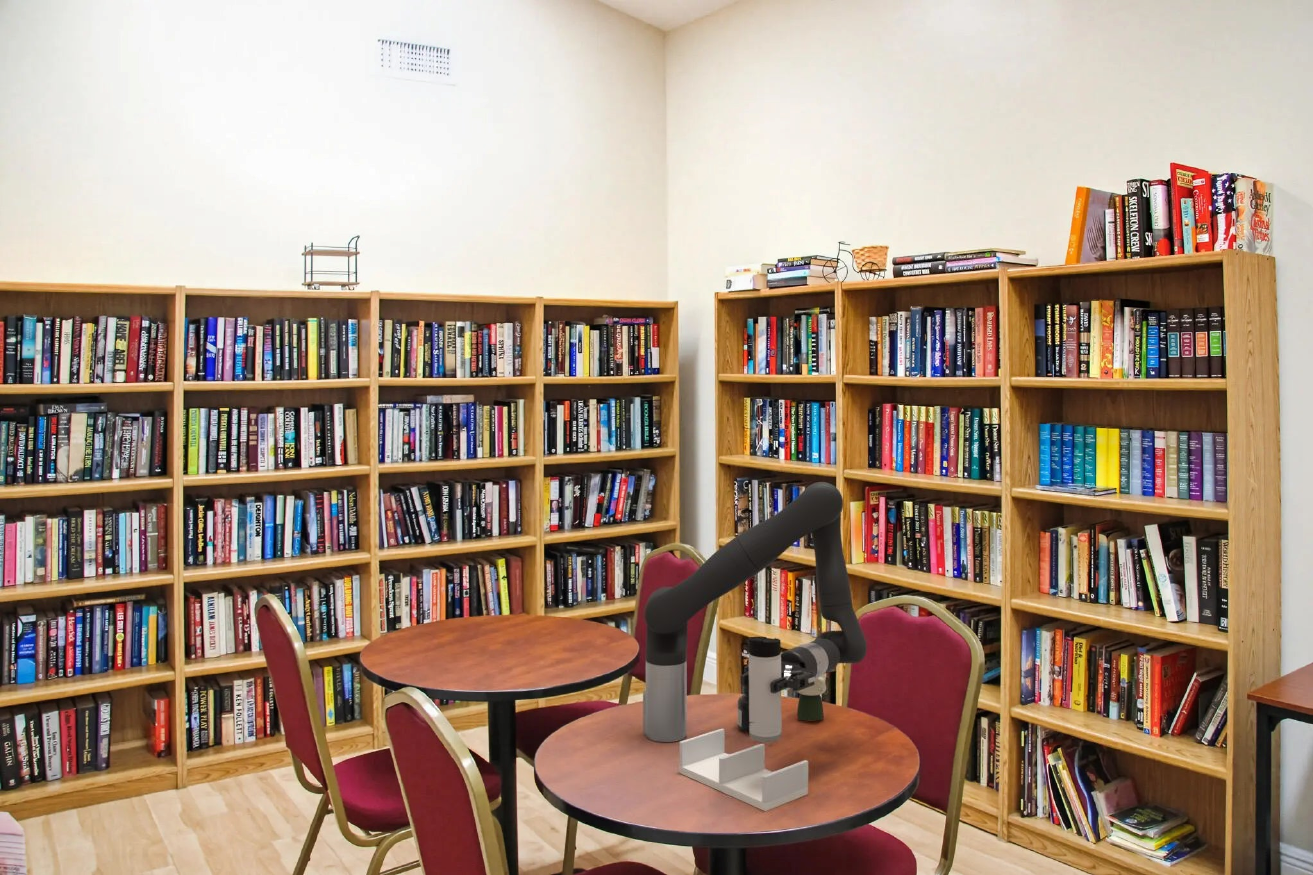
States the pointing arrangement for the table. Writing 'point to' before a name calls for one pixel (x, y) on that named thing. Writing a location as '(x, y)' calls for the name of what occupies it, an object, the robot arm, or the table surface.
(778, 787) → the rack
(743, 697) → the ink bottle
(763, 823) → the table surface
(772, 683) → the robot arm
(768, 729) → the travel mug
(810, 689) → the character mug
